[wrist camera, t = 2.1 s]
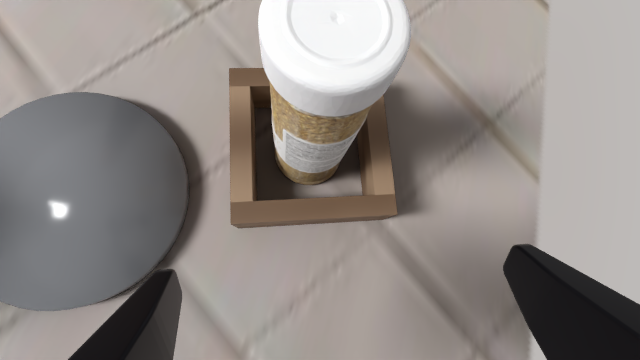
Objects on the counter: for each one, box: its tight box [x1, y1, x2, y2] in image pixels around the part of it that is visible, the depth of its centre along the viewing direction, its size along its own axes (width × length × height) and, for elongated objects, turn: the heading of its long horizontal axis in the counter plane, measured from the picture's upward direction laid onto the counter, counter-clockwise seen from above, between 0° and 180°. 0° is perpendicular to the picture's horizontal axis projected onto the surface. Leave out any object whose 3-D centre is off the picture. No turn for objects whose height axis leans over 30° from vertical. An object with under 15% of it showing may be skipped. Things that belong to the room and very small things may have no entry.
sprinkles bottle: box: [258, 0, 411, 185], centre depth 16 cm, size 5×5×13 cm
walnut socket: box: [229, 68, 397, 228], centre depth 21 cm, size 9×9×3 cm
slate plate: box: [0, 92, 189, 311], centre depth 20 cm, size 13×13×1 cm
